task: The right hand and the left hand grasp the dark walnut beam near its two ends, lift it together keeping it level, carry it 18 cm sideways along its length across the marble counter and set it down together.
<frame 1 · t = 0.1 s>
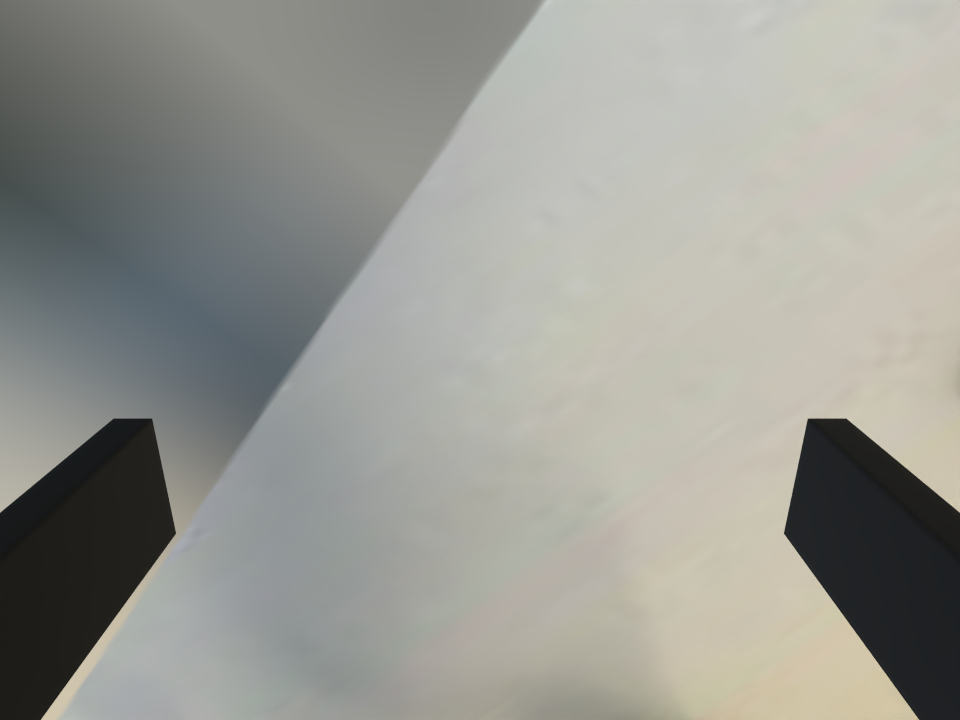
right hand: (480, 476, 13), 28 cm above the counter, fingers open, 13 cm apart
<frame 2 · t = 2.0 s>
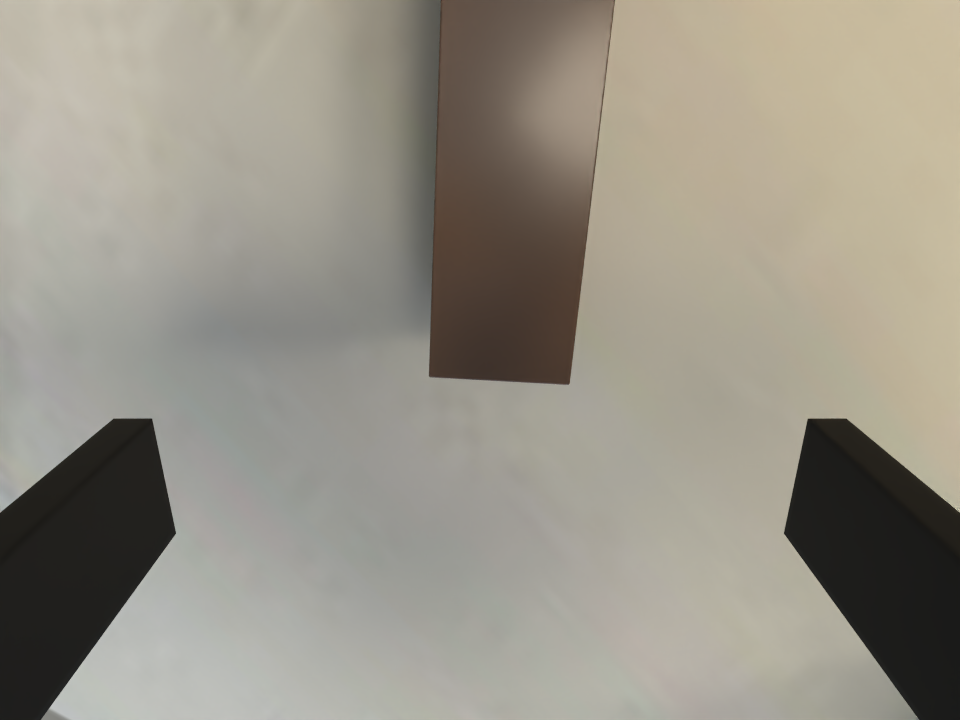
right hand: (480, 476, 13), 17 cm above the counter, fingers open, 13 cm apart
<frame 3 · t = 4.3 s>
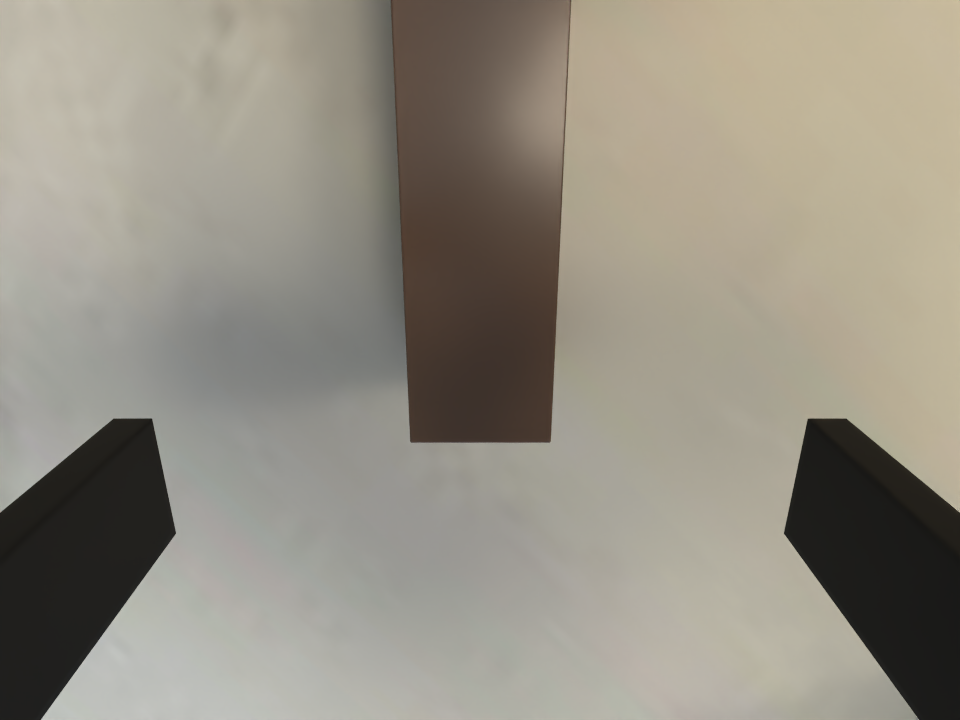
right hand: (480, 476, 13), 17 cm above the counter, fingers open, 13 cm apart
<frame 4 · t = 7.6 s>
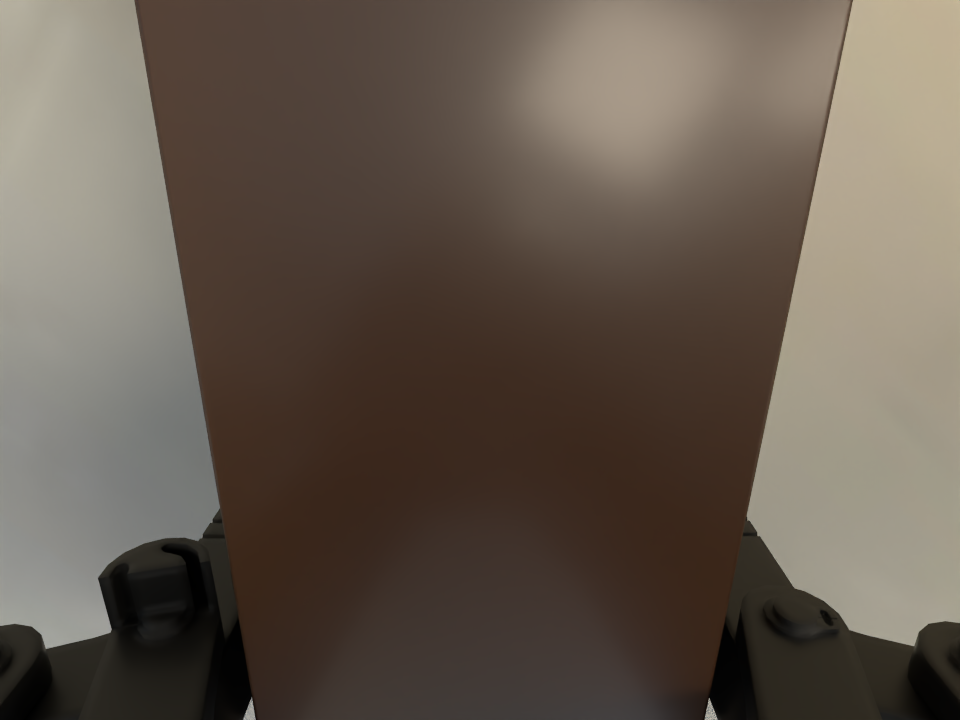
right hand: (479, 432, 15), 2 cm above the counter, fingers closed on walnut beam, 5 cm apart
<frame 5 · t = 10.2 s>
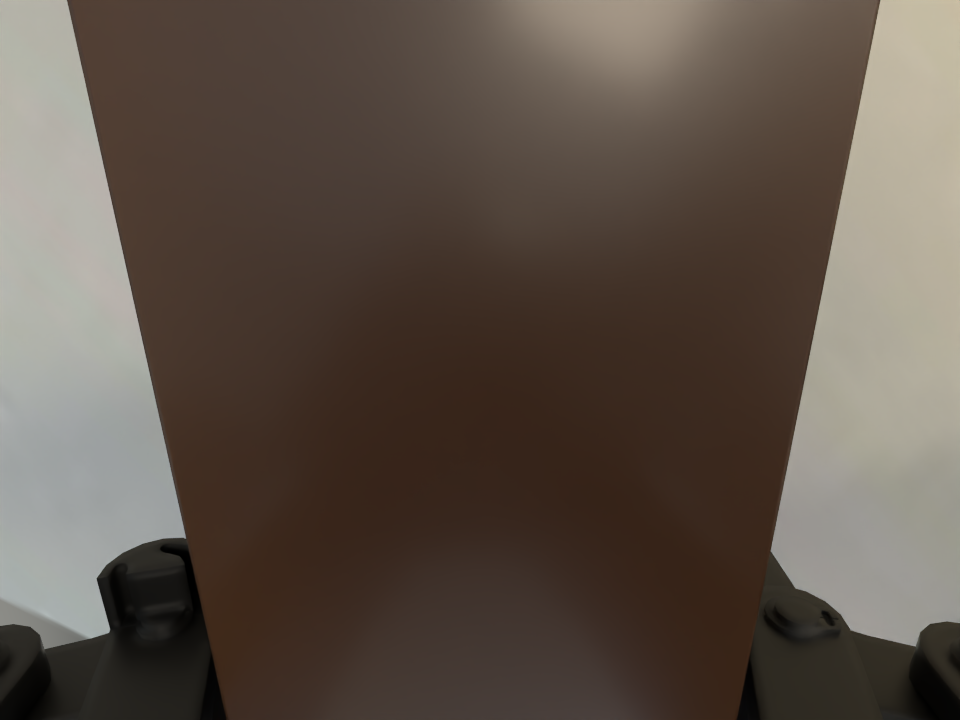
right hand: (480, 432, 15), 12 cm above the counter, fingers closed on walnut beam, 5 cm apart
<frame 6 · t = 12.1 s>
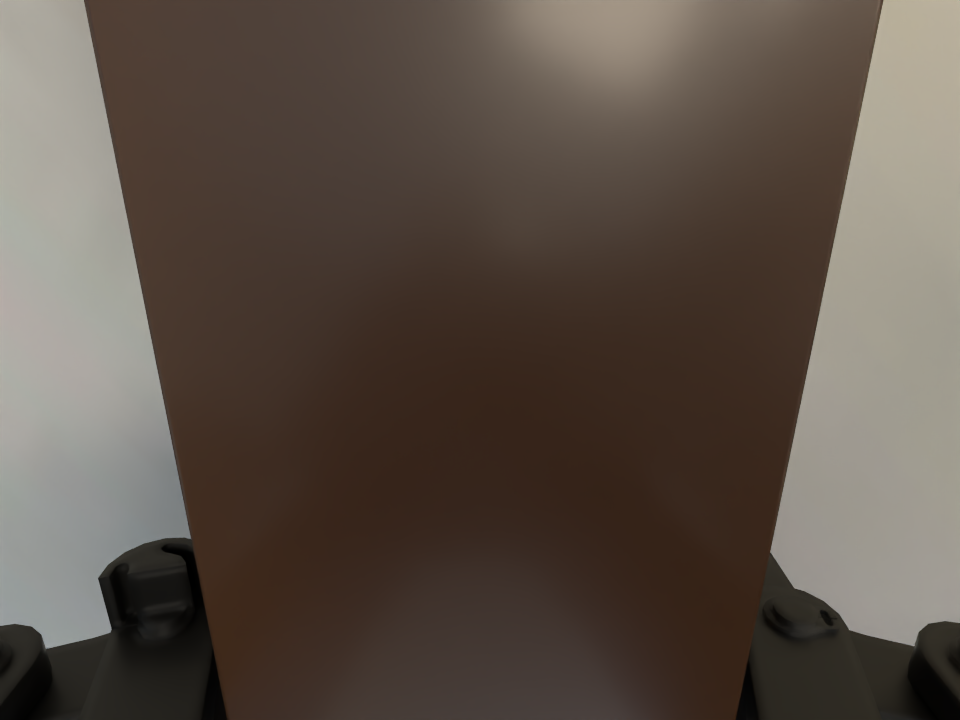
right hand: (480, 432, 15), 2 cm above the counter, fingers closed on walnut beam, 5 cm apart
when the left hand's fingers open (4 cm above the counter, at t = 13.1 s): walnut beam stays where it is, on the counter.
when the right hand's fingers open (0 cm above the counter, at t = 13.1 s): walnut beam stays where it is, on the counter.
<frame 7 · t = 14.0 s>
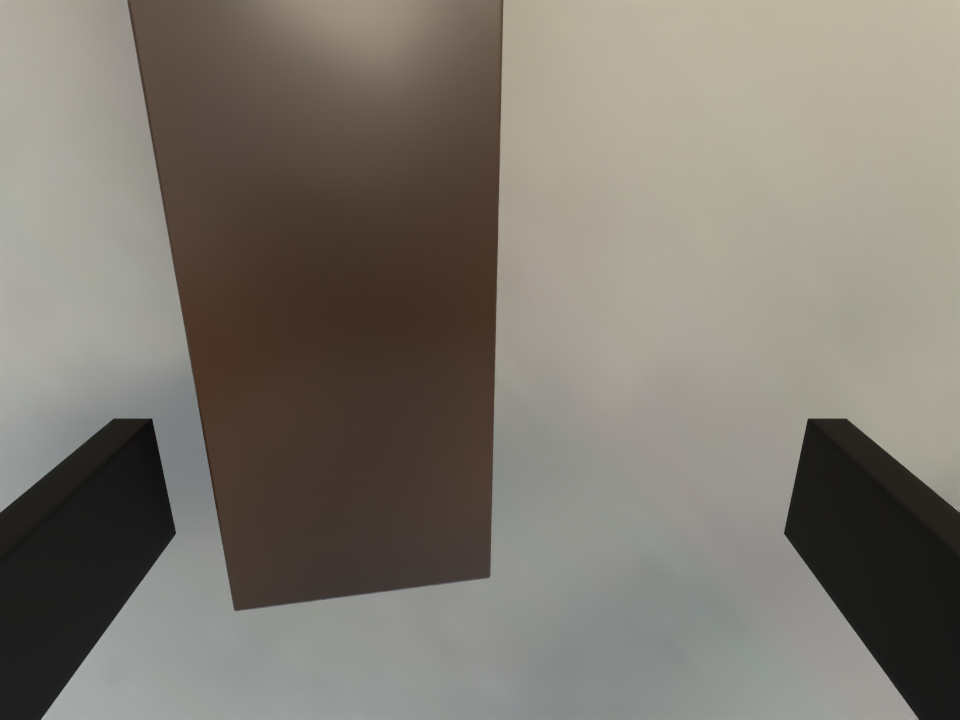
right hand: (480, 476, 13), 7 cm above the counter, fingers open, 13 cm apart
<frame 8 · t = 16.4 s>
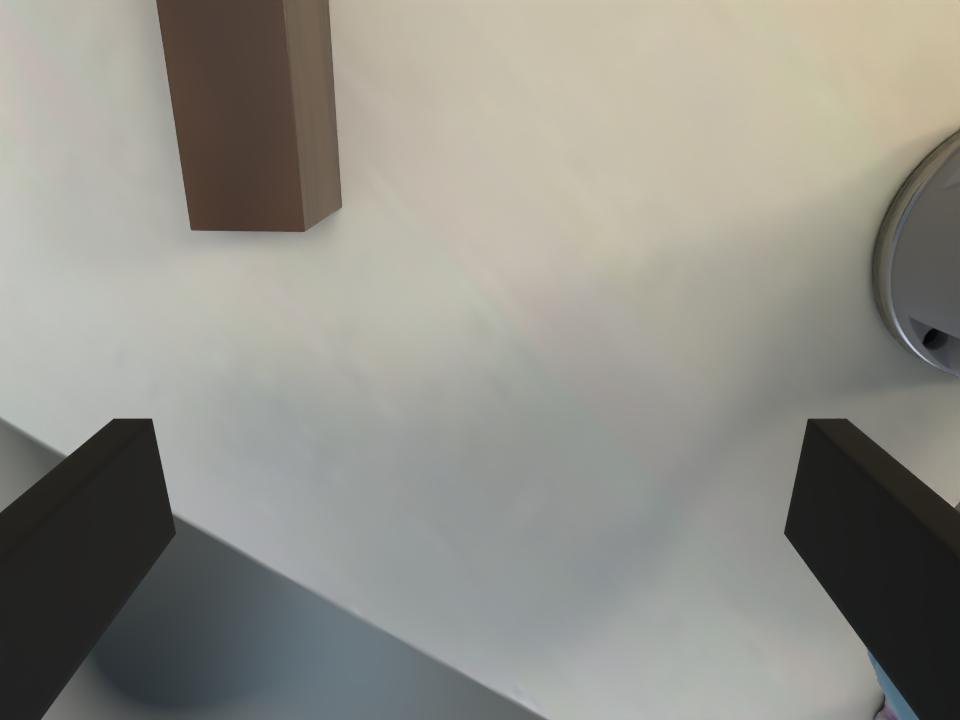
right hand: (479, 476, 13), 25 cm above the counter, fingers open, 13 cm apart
figurine: (915, 718, 49), on the counter
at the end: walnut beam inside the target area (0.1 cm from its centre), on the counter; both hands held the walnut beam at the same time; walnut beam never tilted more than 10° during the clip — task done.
